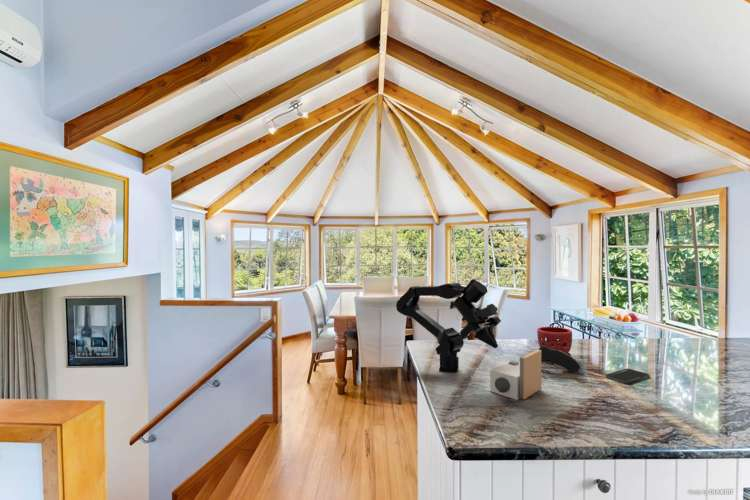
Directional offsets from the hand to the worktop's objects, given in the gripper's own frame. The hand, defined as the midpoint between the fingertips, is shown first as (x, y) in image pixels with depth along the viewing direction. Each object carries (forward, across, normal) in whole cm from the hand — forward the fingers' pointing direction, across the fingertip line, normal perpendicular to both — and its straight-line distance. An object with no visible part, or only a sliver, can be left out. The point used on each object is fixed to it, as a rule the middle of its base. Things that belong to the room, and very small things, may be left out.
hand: (496, 347), depth 122 cm
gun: (+16, +29, +2) cm, 33 cm away
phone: (+30, +40, -11) cm, 51 cm away
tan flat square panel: (+17, 0, 0) cm, 17 cm away
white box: (+13, 0, +5) cm, 14 cm away
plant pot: (+10, +44, +8) cm, 46 cm away
